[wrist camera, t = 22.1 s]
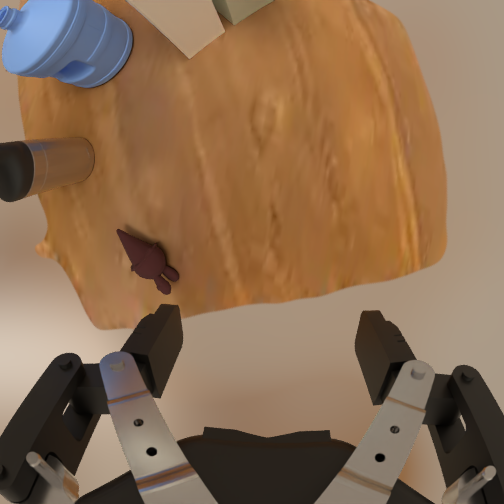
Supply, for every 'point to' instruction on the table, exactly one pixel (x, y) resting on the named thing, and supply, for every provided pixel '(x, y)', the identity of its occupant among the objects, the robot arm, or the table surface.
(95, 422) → the robot arm
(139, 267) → the icecream
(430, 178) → the table surface
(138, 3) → the off-white stand
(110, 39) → the water jug
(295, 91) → the table surface
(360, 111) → the table surface
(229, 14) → the sage step
